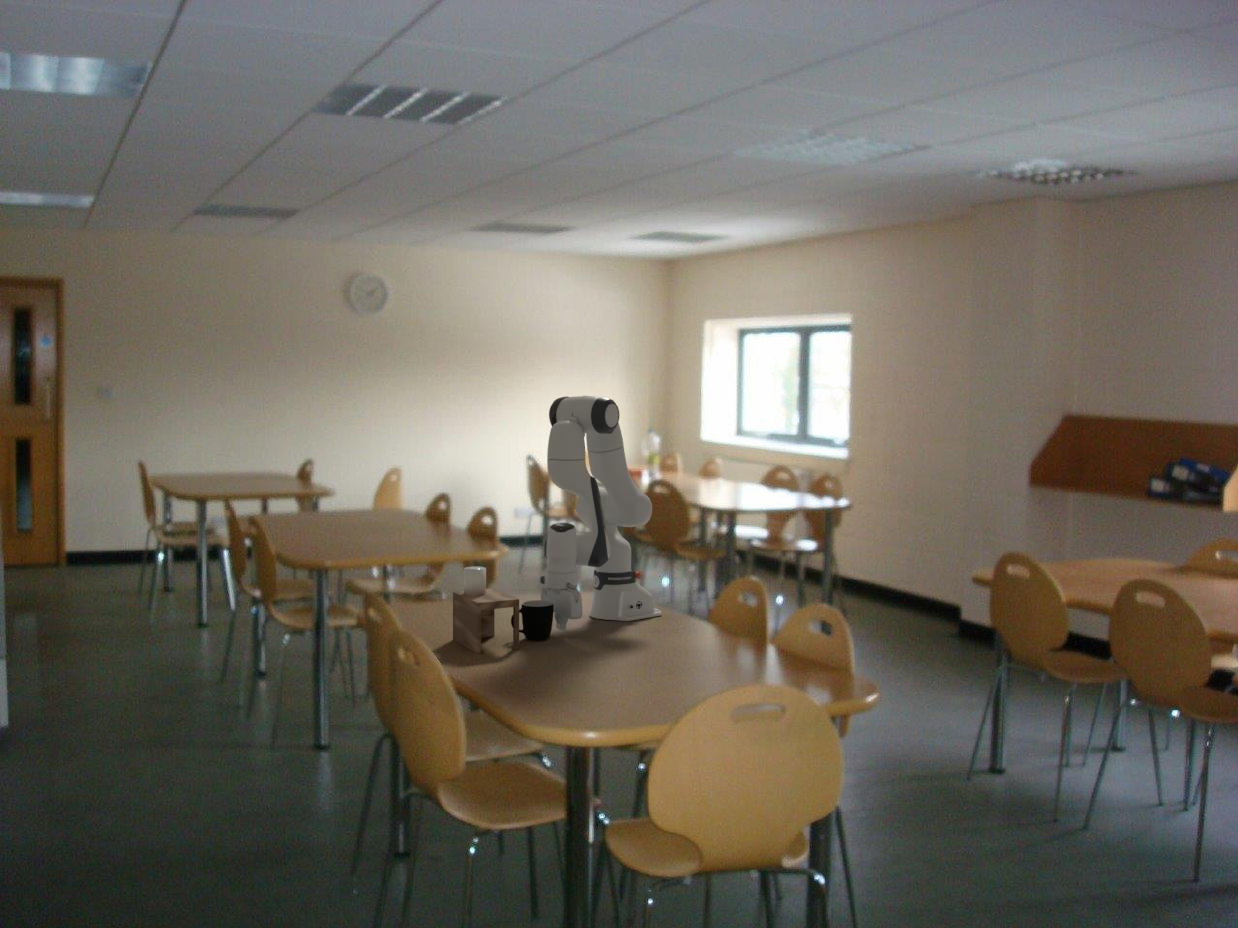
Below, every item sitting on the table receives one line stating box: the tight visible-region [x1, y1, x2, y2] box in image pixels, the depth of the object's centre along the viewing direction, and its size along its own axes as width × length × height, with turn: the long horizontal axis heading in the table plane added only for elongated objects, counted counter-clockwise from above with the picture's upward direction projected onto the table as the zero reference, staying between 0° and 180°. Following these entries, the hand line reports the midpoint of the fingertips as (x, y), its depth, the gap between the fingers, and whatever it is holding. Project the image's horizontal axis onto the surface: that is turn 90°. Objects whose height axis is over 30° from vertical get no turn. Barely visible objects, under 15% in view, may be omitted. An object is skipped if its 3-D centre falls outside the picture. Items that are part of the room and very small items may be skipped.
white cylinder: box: [463, 566, 487, 595], centre depth 320 cm, size 6×6×7 cm
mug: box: [510, 599, 554, 642], centre depth 325 cm, size 12×9×10 cm
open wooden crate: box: [452, 588, 520, 654], centre depth 318 cm, size 12×18×14 cm, turn 29°
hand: (561, 629), depth 329 cm, fingers closed
